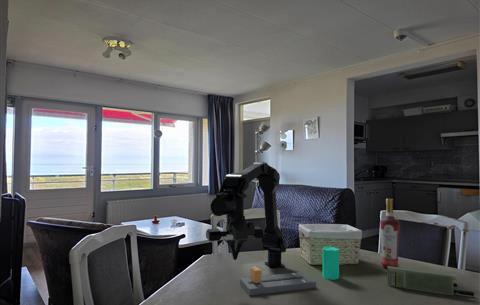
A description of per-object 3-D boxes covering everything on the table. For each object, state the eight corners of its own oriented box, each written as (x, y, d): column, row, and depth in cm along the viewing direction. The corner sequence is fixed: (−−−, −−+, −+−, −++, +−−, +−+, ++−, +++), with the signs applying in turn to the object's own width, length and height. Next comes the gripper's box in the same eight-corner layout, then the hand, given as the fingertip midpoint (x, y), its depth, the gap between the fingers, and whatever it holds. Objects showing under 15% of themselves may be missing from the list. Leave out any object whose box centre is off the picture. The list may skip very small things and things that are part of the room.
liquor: (379, 268, 130) (378, 199, 131) (381, 263, 136) (381, 197, 137) (399, 271, 126) (398, 200, 127) (400, 266, 132) (400, 198, 133)
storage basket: (346, 254, 149) (346, 223, 150) (364, 265, 133) (363, 230, 134) (296, 255, 146) (297, 223, 147) (308, 267, 130) (308, 230, 131)
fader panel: (239, 284, 111) (239, 277, 111) (301, 277, 118) (301, 271, 118) (249, 295, 101) (249, 288, 101) (316, 287, 108) (316, 281, 108)
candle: (339, 280, 116) (339, 246, 116) (322, 278, 117) (322, 245, 117) (338, 274, 121) (338, 242, 122) (322, 273, 123) (322, 242, 123)
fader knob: (250, 279, 109) (250, 266, 109) (257, 278, 109) (257, 266, 110) (254, 283, 105) (254, 270, 105) (261, 282, 106) (261, 269, 106)
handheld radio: (387, 283, 113) (472, 296, 103) (388, 287, 110) (475, 300, 100) (387, 265, 113) (472, 275, 103) (387, 268, 110) (475, 279, 100)
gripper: (213, 217, 95) (212, 270, 95) (270, 214, 101) (270, 264, 100) (205, 211, 106) (205, 259, 105) (258, 209, 112) (258, 255, 111)
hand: (234, 259), depth 105 cm, fingers closed
